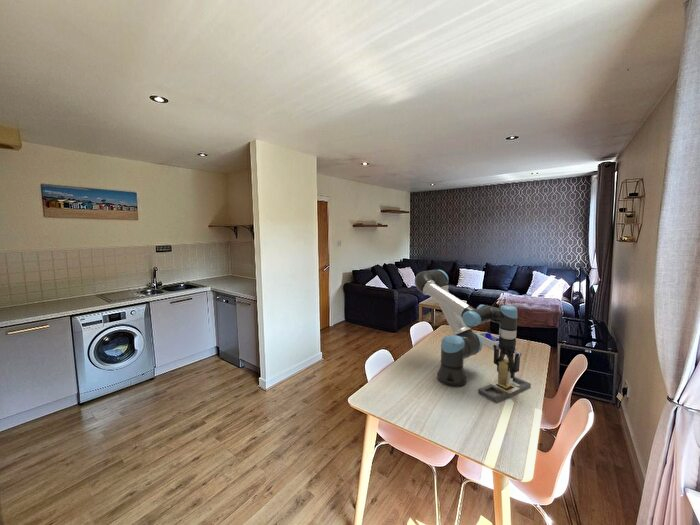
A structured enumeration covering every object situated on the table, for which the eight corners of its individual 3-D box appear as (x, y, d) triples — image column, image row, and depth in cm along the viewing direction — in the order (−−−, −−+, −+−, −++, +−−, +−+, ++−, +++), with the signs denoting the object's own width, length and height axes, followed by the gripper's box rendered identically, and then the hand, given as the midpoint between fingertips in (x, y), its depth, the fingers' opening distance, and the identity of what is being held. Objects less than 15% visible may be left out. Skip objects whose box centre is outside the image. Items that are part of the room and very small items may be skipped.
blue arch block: (483, 341, 213) (484, 333, 212) (488, 340, 214) (489, 332, 213) (495, 347, 201) (496, 339, 201) (501, 347, 203) (501, 338, 202)
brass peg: (506, 391, 145) (507, 363, 144) (497, 387, 149) (499, 360, 148) (511, 389, 148) (513, 361, 146) (503, 385, 152) (504, 357, 150)
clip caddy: (494, 349, 198) (494, 342, 198) (474, 340, 215) (475, 333, 215) (505, 347, 201) (505, 340, 201) (485, 338, 218) (485, 331, 218)
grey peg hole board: (496, 403, 137) (496, 399, 137) (478, 393, 146) (478, 389, 146) (530, 387, 151) (530, 383, 151) (511, 378, 160) (512, 374, 159)
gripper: (529, 341, 139) (527, 387, 142) (495, 330, 155) (493, 371, 157) (520, 344, 136) (517, 391, 138) (486, 332, 151) (484, 375, 154)
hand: (505, 380), depth 148 cm, fingers closed on brass peg, 5 cm apart
